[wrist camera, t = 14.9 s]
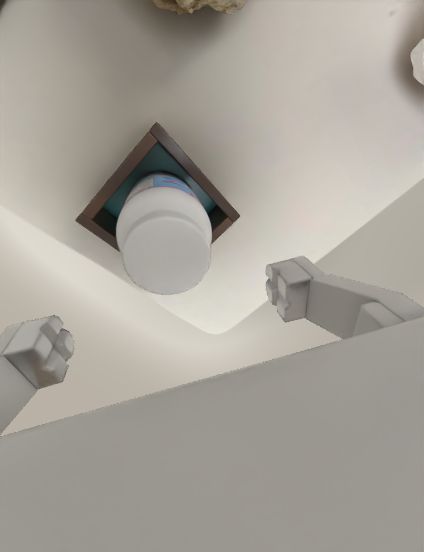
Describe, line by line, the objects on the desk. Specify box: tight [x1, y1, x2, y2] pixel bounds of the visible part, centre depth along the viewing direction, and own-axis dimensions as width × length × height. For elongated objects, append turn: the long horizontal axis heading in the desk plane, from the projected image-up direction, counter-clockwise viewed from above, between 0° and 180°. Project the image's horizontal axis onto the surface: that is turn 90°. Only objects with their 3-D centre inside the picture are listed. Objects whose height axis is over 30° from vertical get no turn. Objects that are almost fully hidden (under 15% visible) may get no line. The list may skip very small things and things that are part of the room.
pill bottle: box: [116, 171, 212, 295], centre depth 17 cm, size 6×6×11 cm
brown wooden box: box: [75, 122, 240, 252], centre depth 21 cm, size 9×9×5 cm
